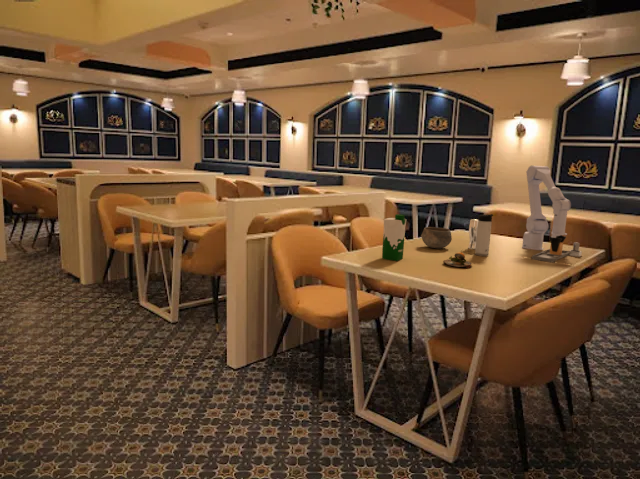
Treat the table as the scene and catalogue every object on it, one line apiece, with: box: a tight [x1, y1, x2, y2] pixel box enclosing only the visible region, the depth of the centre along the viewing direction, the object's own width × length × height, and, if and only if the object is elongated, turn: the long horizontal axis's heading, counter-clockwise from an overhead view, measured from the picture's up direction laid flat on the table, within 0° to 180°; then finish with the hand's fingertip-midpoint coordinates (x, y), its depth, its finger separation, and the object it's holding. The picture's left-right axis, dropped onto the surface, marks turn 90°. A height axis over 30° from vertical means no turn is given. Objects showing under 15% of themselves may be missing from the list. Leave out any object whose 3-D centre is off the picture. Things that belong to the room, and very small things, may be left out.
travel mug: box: [474, 213, 494, 257], centre depth 239 cm, size 6×7×20 cm
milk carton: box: [381, 214, 407, 262], centre depth 221 cm, size 9×9×20 cm
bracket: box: [567, 248, 583, 258], centre depth 247 cm, size 5×5×3 cm
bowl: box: [420, 226, 453, 250], centre depth 255 cm, size 14×15×10 cm
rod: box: [572, 241, 580, 252], centre depth 246 cm, size 3×3×7 cm
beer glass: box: [467, 218, 479, 251], centre depth 257 cm, size 7×7×15 cm
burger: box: [442, 250, 473, 270], centre depth 214 cm, size 12×12×8 cm
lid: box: [531, 252, 562, 263], centre depth 237 cm, size 10×13×2 cm
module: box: [549, 242, 564, 255], centre depth 248 cm, size 4×4×7 cm
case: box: [539, 248, 569, 259], centre depth 248 cm, size 10×17×2 cm, turn 139°
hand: (556, 250), depth 248 cm, fingers closed on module, 4 cm apart
